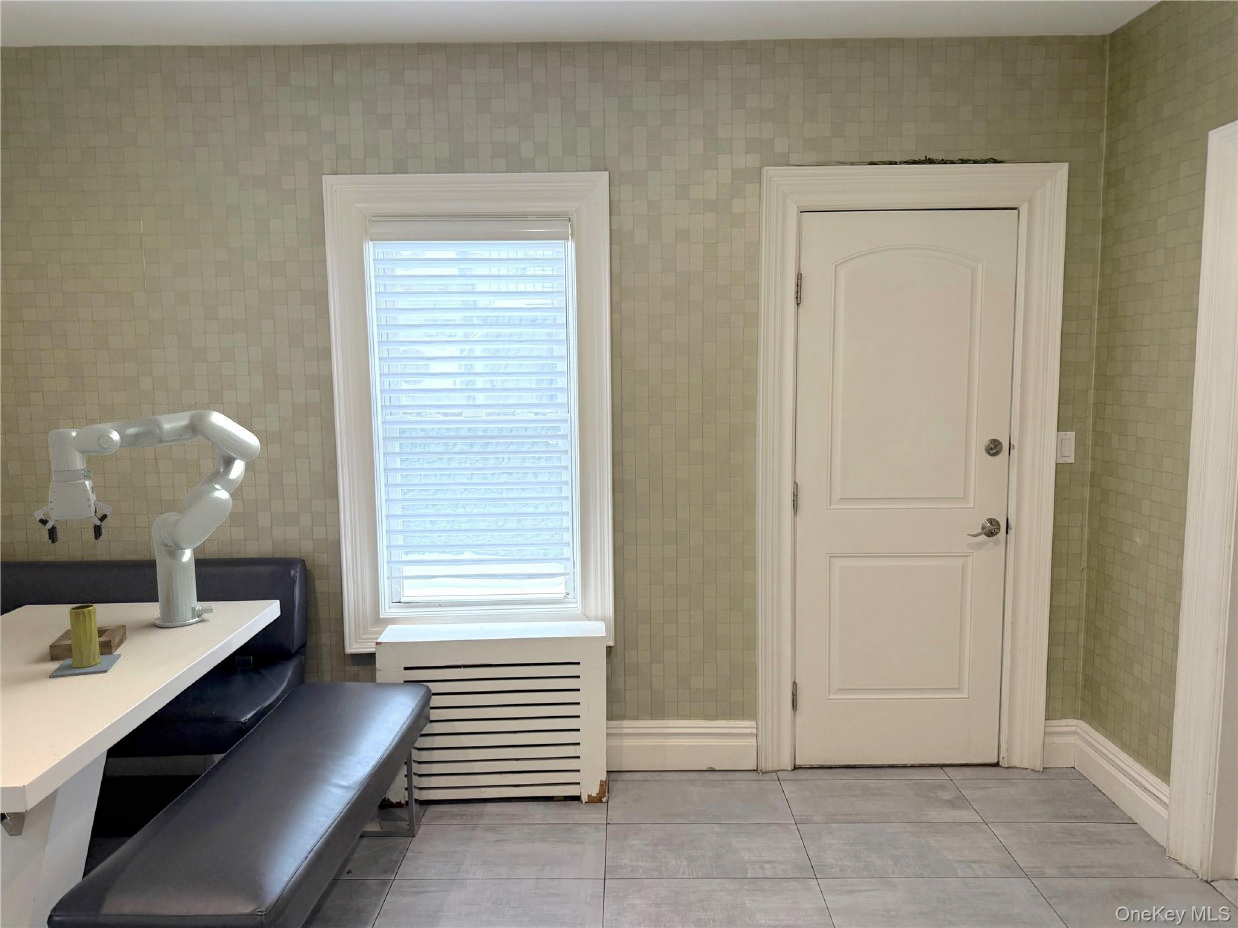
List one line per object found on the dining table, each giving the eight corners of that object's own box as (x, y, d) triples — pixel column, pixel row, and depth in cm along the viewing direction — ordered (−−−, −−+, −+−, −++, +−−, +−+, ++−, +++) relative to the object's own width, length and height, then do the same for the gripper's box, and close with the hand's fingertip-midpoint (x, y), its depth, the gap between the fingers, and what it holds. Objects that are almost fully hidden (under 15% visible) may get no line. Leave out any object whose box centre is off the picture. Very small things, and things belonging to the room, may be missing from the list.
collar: (126, 638, 220) (125, 624, 219) (112, 655, 207) (111, 639, 206) (68, 644, 216) (67, 629, 215) (50, 660, 203) (49, 645, 202)
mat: (121, 655, 206) (120, 653, 206) (107, 672, 195) (107, 669, 195) (66, 661, 203) (66, 658, 203) (48, 677, 191) (48, 675, 191)
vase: (70, 669, 195) (65, 611, 193) (73, 662, 200) (68, 605, 199) (100, 665, 198) (95, 608, 196) (102, 657, 203) (98, 602, 202)
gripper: (111, 472, 219) (117, 535, 221) (34, 476, 213) (41, 541, 215) (105, 476, 212) (111, 540, 214) (25, 480, 206) (32, 546, 208)
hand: (76, 540), depth 214 cm, fingers open, 9 cm apart
